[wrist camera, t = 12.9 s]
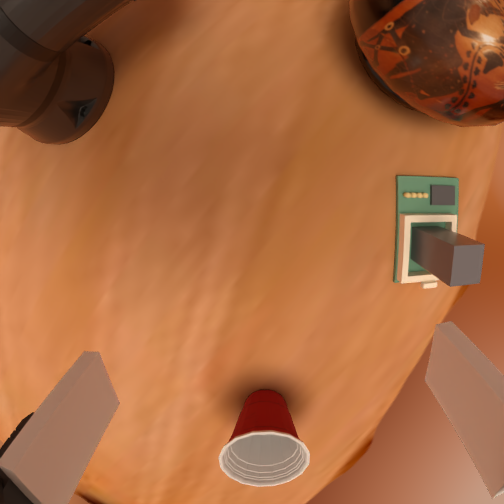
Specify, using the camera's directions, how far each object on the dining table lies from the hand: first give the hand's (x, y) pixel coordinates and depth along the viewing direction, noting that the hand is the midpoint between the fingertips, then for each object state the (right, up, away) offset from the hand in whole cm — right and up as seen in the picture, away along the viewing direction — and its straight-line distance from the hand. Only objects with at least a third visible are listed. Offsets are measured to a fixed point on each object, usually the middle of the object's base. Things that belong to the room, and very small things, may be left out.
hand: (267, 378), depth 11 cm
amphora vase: (+20, +29, +19) cm, 40 cm away
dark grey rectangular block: (+21, +6, +24) cm, 32 cm away
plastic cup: (+1, -17, +32) cm, 36 cm away
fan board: (+21, +7, +24) cm, 33 cm away
